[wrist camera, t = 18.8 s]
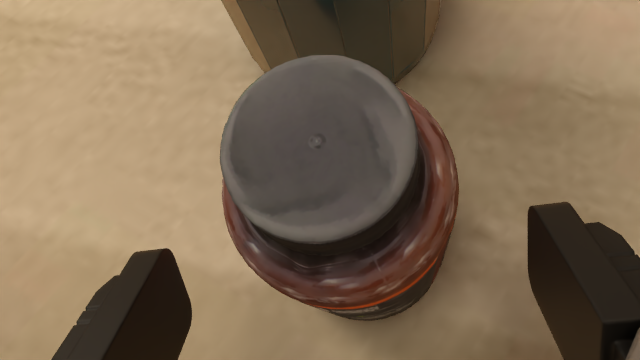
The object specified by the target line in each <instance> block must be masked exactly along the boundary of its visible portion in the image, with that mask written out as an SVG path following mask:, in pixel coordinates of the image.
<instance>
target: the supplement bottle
mask: <svg viewBox="0 0 640 360" xmlns="http://www.w3.org/2000/svg"><path fill="white" fill-rule="evenodd" d="M220 164H221V169H222V174H223V180H222V183H223V187H222V200H223V207H224V215H225V219H226V224H227V227H228V231H229V233H230V236H231V238H232V240H233V242H234V244H235V246H236V248H237V250H238V251H239V253H240V254H241V256H242V257H243V259H244V260H245V262H246V263H247V264H248V266H249V267H250V268H251V269H253V270H254V271H255V273H256V274H257V275H258V276H260V277H261V278H262V279H263V280H264V281H265V282H267V283H268V284H269V285H270V286H272V287H273V288H275V289H276V290H278V291H279V292H281V293H283V294H285V295H287V296H289V297H291V298H293V299H295V300H298V301H300V302H302V303H305V304H307V305H310V306H313V307H316V308H318V309H321V310H323V311H327V312H329V313H332V314H335V315H338V316H341V317H344V318H348V319H354V320H365V321H366V320H378V319H383V318H387V317H390V316H393V315H396V314H398V313H401V312H403V311H404V310H406V309H407V308H409V307H411V306H412V305H413V304H415V303H416V302H417V301H419V300H420V298H421V297H422V296H423V295H424V294H425V293H426V292H427V290H428V289H429V287H430V286H431V284H432V283H433V281H434V279H435V277H436V275H437V273H438V270H439V268H440V266H441V264H442V261H443V258H444V254H445V251H446V248H447V245H448V241H449V238H450V235H451V232H452V229H453V225H454V222H455V216H456V211H457V206H458V195H459V184H458V175H457V169H456V164H455V158H454V155H453V152H452V149H451V147H450V145H449V142H448V140H447V138H446V136H445V134H444V132H443V130H442V128H441V127H440V126H439V124H438V122H437V121H436V120H435V119H434V118H433V117H432V115H431V114H430V113H429V112H428V111H427V110H426V109H425V108H424V107H423V106H422V105H421V104H420V103H419V102H418V101H416V100H415V99H414V98H412V97H411V96H409V95H408V94H407V93H405V92H404V91H402V90H400V89H399V88H397V87H396V85H395V84H393V83H392V82H391V81H390V79H389V78H388V77H386V76H385V75H383V74H382V73H381V72H380V71H378V70H377V69H375V68H373V67H371V66H370V65H367V64H365V63H363V62H361V61H358V60H354V59H351V58H348V57H345V56H339V55H311V56H307V57H303V58H298V59H294V60H291V61H288V62H285V63H283V64H281V65H279V66H276V67H275V68H273V69H272V70H270V71H268V72H266V73H265V74H264V75H262V76H261V77H260V78H258V79H257V80H256V81H255V82H254V83H253V84H251V85H250V86H249V87H248V88H247V89H246V90H245V91H244V93H243V94H242V95H241V97H240V98H239V99H238V101H237V102H236V104H235V106H234V107H233V109H232V111H231V113H230V115H229V118H228V121H227V123H226V124H225V127H224V131H223V134H222V141H221V149H220Z"/></svg>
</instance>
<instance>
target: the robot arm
mask: <svg viewBox="0 0 640 360" xmlns="http://www.w3.org/2000/svg"><path fill="white" fill-rule="evenodd" d="M528 274H529V280H530V285H531V288H532V291H533V294H534V296H535V299H536V301H537V303H538V305H539V307H540V309H541V312H542V314H543V316H544V318H545V320H546V322H547V324H548V327H549V329H550V331H551V333H552V335H553V337H554V340H555V342H556V344H557V346H558V348H559V350H560V352H561V355H562V357H563V359H564V360H640V258H639V257H638V255H635V253H634V250H633V249H632V248H631V247H630V245H629V244H628V243H627V242H626V241H625V239H624V238H623V237H622V236H621V235H620V234H618V233H617V232H615V231H613V230H612V229H610V228H608V227H606V226H605V225H603V224H601V223H599V222H595V223H586V224H584V222H583V221H582V219H581V218H580V217H579V215H578V214H577V213H576V211H575V210H574V208H573V207H572V206H571V204H570V203H568V202H561V203H552V204H544V205H535V206H530V207H529V210H528ZM191 320H192V308H191V302H190V299H189V296H188V293H187V290H186V288H185V285H184V282H183V279H182V277H181V274H180V271H179V268H178V266H177V263H176V260H175V257H174V255H173V253H172V252H171V250H169V249H167V248H165V249H157V250H148V251H140V252H135V253H134V254H133V255H132V256H131V258H130V259H129V261H128V263H127V264H126V266H125V267H124V269H123V270H122V272H121V274H120V275H117V276H114V277H113V278H112V279H110V280H109V281H108V282H107V283H106V284H105V285H103V286H102V287H101V288H100V289H99V290H98V291H97V292H96V293H95V295H94V296H93V298H92V299H91V301H90V302H89V304H88V305H87V307H86V311H83V313H82V314H81V316H80V317H79V319H78V320H77V325H74V326H73V328H72V329H71V331H70V332H69V334H68V335H67V337H66V338H65V340H64V341H63V343H62V344H61V346H60V347H59V349H58V350H57V352H56V353H55V355H54V356H53V358H52V359H51V360H178V357H179V355H180V352H181V350H182V347H183V344H184V342H185V339H186V337H187V334H188V332H189V329H190V326H191Z"/></svg>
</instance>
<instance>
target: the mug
mask: <svg viewBox="0 0 640 360" xmlns="http://www.w3.org/2000/svg"><path fill="white" fill-rule="evenodd" d="M221 1H222V3H223V5H224V7H225V9H226V10H227V12H228V14H229V16H230V18H231V19H232V21H233V23H234V25H235V27H236V29H237V30H238V32H239V34H240V36H241V38H242V40H243V41H244V43H245V45H246V47H247V49H248V50H249V52H250V54H251V56H252V58H253V59H254V60H255V61H256V62H257V63H258V65H259V66H260V68H261V69H262V70H263V71H264V73H266V72H268V71H270V70H272V69H273V68H275V67H276V66H279V65H281V64H283V63H285V62H288V61H291V60H294V59H298V58H303V57H307V56H311V55H339V56H345V57H348V58H351V59H354V60H358V61H361V62H363V63H365V64H367V65H370V66H371V67H373V68H375V69H377V70H378V71H380V72H381V73H382V74H383V75H385V76H386V77H388V78H389V79H390V81H391V82H392V83H393V84H394V83H395V82H397V81H398V80H400V79H401V78H402V77H403V76H405V75H406V74H407V73H408V72H409V71H410V70H411V69H412V68H413V67H414V66H415V65H416V64H417V63H418V62H419V60H420V59H421V58H422V56H423V55H424V54H425V52H426V50H427V48H428V47H429V45H430V43H431V41H432V38H433V35H434V32H435V29H436V24H437V21H438V19H439V13H440V1H441V0H221Z"/></svg>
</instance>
